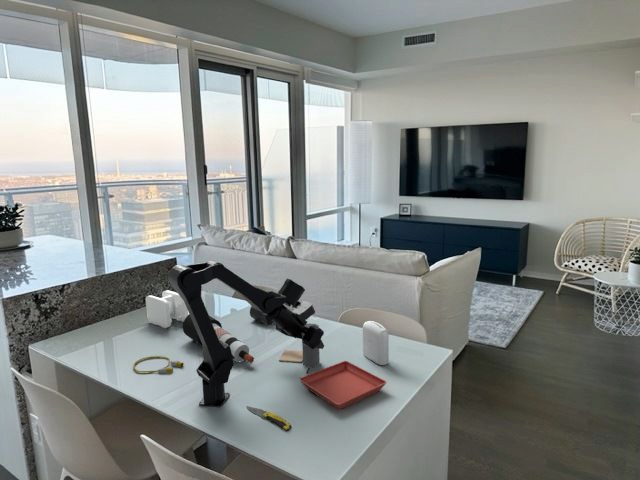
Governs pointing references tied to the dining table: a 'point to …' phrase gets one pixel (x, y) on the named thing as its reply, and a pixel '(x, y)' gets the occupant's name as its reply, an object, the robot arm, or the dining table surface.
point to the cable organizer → (166, 309)
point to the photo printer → (376, 342)
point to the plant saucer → (342, 384)
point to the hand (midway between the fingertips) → (314, 342)
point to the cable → (237, 347)
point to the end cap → (256, 314)
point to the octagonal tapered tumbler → (310, 353)
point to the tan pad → (292, 356)
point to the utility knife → (271, 418)
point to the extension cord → (163, 370)
